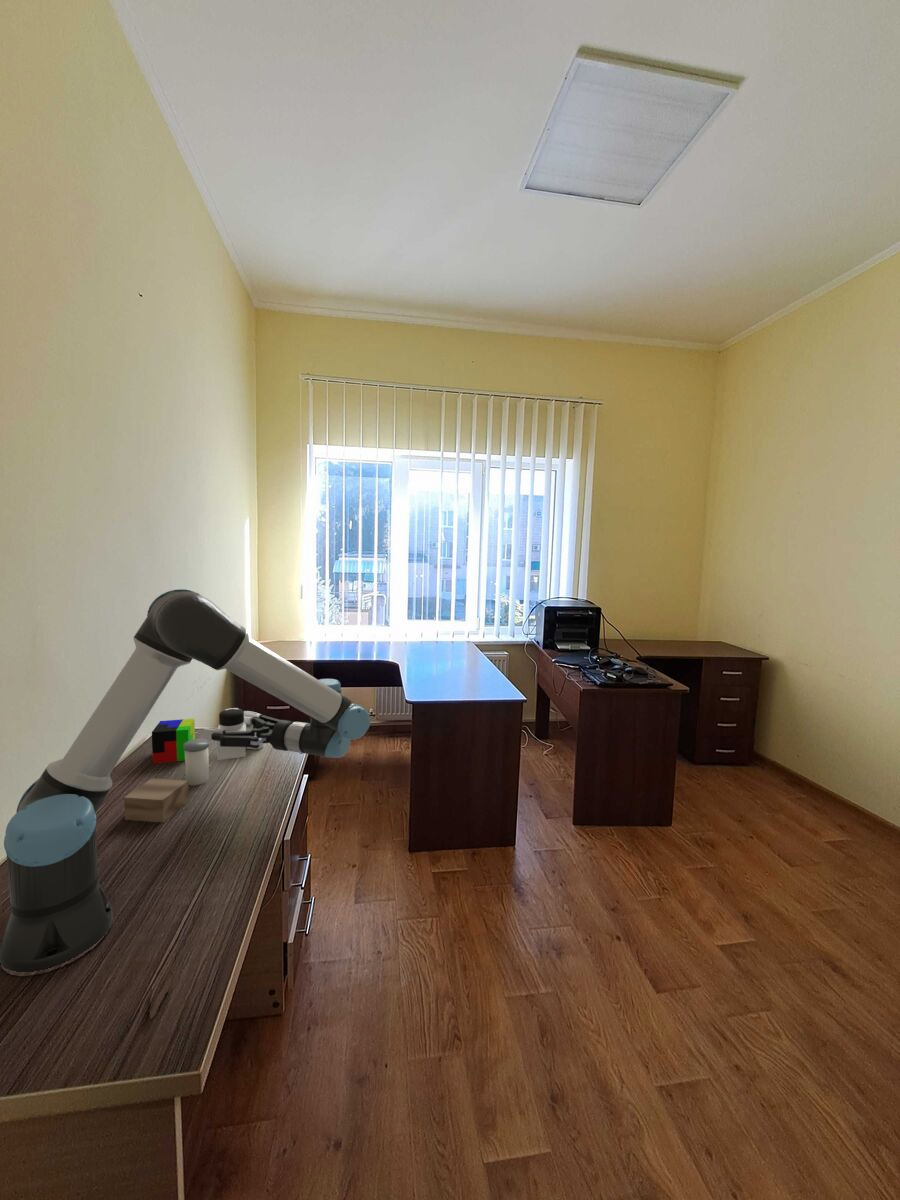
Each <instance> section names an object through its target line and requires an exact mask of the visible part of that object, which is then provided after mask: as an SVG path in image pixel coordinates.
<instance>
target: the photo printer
mask: <svg viewBox="0 0 900 1200" xmlns="http://www.w3.org/2000/svg"><path fill="white" fill-rule="evenodd" d="M243 711H244V716H245V717H252V718H253V717H259V715H262V714H261V713H258V712H255V711H251V710H243ZM252 729H253V725H252V727H251V728H249V727H247V731H252ZM255 729H257V728H255ZM255 736H256V732H255ZM263 747H264V743H260V744H259V748H252V747H247V750H261V749H262V748H263Z"/></svg>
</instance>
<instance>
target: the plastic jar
mask: <svg viewBox="0 0 900 1200" xmlns="http://www.w3.org/2000/svg"><path fill="white" fill-rule="evenodd" d="M209 747H210V740H208V739H203V738H195V739H193V740H190V741H187V742H186V743H184V750H185V760H184V770H185V771H184V772H185V775H184V776H185V781H188V786H199V785H203V784H205V783H207V782H208V781H209V780H210V765H209V764H210V762H209Z"/></svg>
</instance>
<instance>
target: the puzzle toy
mask: <svg viewBox="0 0 900 1200" xmlns="http://www.w3.org/2000/svg"><path fill="white" fill-rule="evenodd" d="M195 722H196V721H195V718H185V719H184V718H183V719H170V720H169V719H168V720H160V721H159V722H158V723H157V724H156V726H155V727H154V729H153V730H152V732H151V745H152V746H151V748H152V749H151V750H152V764H160V763H161V764H162V763H173V762H183V761H184V762H185V750H184V743H186V742H187V741H190V740H193V739H196V731H195V729H196V728H195V726H196V725H195Z"/></svg>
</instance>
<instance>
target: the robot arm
mask: <svg viewBox="0 0 900 1200" xmlns="http://www.w3.org/2000/svg"><path fill="white" fill-rule="evenodd" d="M132 638H133V642H134V646H135V650H133V653H132V654H131V655H130V657H129V658H128V660H126V661H127V662H126V663H125V665H124V666H123V667H122V669H121V671H120V672H119V673H118V675H117V676H116V678H115V680H114V681H113V683H112V684H111V686H110V687H109V688H108V690H107V691H106V693H105V695H104V696H103V698H102V699H101V701H100V702H99V704H98V705H97V707H95V710H94V711H93V712H92V714H91V716H90V717H89V718H88V720H87V722H86V723H85V725H84V726H83V728H82V729H81V731H80V732H79V734H77V737H76V738H75V740H74V741H73V743H72V745H70V747H69V749H68V750H67V752H66V754H65V755H64V757H63V758H62V759H58V760H55V761H51V762H50V763H48V765H47V766H46V768H44V770H43V772H42V774H40V776H39V778H38V779H36V780H35V781H34V782H33V783H32V784H31V785H30V786H29V787H28V788H27V789H26V790H25V791H24V793H23V794H22V796H21V798H20V799H19V801H18V804H17V808H16V813H15V814H14V815H13V816H12V817H11V818H10V820H9V822H8V823H7V824H6V828H5V834H4V837H3V838H4V840H3V847H4V850H5V855H6V861H7V862H6V863H7V864H6V865H7V877H8V893H9V902H10V915H9V919H8V922H7V925H6V928H5V932H4V935H3V938H2V941H1V942H0V963H1V965H2V966H3V967H4V968H6V969H9V970H12V971H16V972H34V971H40V970H45V969H48V968H52V967H54V966H57V965H60V964H62V963H65V962H66V961H69V960H71V959H72V958H75V957H76V956H78V955H79V954H81V953H83V952H84V951H86V950H87V949H89V948H90V947H92V946H93V945H94V944H96V943H97V942H98V941H99V940H100V939H101V938H102V937H103V936H104V935H105V934H106V932H107V931H108V930H109V928H110V926H111V924H112V925H113V923H112V921H113V922H114V917H113V915H114V914H113V906H112V903H111V902H110V900H109V898H108V896H107V895H106V893H105V891H104V890H103V888H102V886H101V884H100V882H99V881H100V880H99V866H98V865H99V864H98V848H97V847H98V846H97V830H96V826H97V811H98V809H99V808H100V806H101V804H102V803H103V802H104V800H105V798H106V796H107V795H108V794H109V792H110V790H111V789H112V787H113V784H114V783H113V779H112V778H111V773H112V772H113V770H114V769H115V766H116V765H117V764H118V762H119V761H120V759H121V758H122V756H123V754H124V753H125V751H126V750H127V748H128V747H129V745H130V743H131V741H132V740H133V739H134V737H135V736H136V734H137V733H138V731H139V729H140V728H141V726H142V725H143V723H144V721H145V719H146V718H147V717H148V715H149V713H150V711H151V710H152V709H153V708H154V706H155V704H156V703H157V701H158V699H159V698H160V697H161V694H162V693H163V691H164V690H165V688H166V687H167V686H168V683H170V681H171V679H172V677H173V676H174V674H175V673H176V671H177V670H178V668H180V667H182V666H186V665H189V664H190V663H191V662H192V660H195V661H198V662H200V663H202V664H204V665H206V666H208V667H210V668H211V669H213V670H216V671H221V670H224V669H225V670H227V671H229V672H230V673H232V674H234V675H236V676H237V677H239V678H240V679H243V680H244V681H246V682H248V683H249V684H252V685H254V686H256V687H257V688H259V689H260V690H262V691H265V692H266V693H267V694H270V695H271V696H274V697H275V698H276V699H279V700H280V701H281V702H284V703H286V705H288V706H291V707H293V708H295V709H296V710H298V711H300V712H302V713H303V714H305V715H307V716H308V717H310V723H309V722H302V721H293V720H287V719H278V718H274V717H272V716H267V715H265V714H261V715H259V717H253V718H252V717H245V716H244V723H246V727H249V728H251V727H252V725H253V729H252V731H242V732H227V733H226V730H217V729H218V728H217V729H216V728H209V727H204V728H202V739H207V740H209V741H216V742H217V741H220V746H221V747H252V748H259V744H260V743H263V744H270V746H272V748H273V749H274V750H277V751H283V752H294V753H299V754H300V755H302V754H305V755H307V754H308V755H313V756H319V757H320V756H321V757H325V758H333V759H334V758H335V759H337V758H339V759H340V758H343V757H344V756H346V754H347V753H348V751H349V749H350V745H351V740H358V739H360V738H362V737H363V736H364V735H365V734H366V733H367V731H368V730H369V728H370V725H371V716H370V713H369V712H368V711H367V710H366V709H365V708H364V707H363V706H362V705H360V704H358V703H356V702H354V701H353V700H351V699H349V698H348V697H346V696H345V695H343V694H342V688H341V687H342V686H341V682H340V681H339V680H338V679H336V678H335V679H334V678H320V679H318V678H316V677H314V676H313V675H311V674H310V673H308V672H306V671H305V670H303V669H301V668H300V667H299V666H297V665H296V664H293V663H291V661H289V660H287V659H285V658H284V657H282V656H280V655H279V654H277V653H276V652H274V651H273V650H271V649H270V648H268V647H266V646H264V645H263V644H261V643H260V642H258V641H256V639H253V638H251V637H250V636H249V633H248V629H247V628H246V627H244V626H243V625H241V624H239V623H238V622H237V621H235V620H234V619H233V618H231V617H230V616H229V615H227V614H226V613H225V612H224V611H223V610H222V609H221V608H220V607H218V606H217V605H216V603H214V601H212V600H210V599H209V598H207V597H205V596H203V595H202V594H200V593H198V592H195V591H194V590H191V589H183V588H180V589H173V590H169V591H166V592H164V593H161V594H160V595H158V596H157V597H156V598H155V599H154V600H153V601H152V602H151V603H150V605H149V607H148V610H147V614H146V618H145V619H144V621H143V622H142V624H141V626H140V627H139V628H138V630H137V632H136V633H135V634H134V636H133V637H132ZM255 728H257V729H255ZM255 732H256V736H255Z"/></svg>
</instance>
